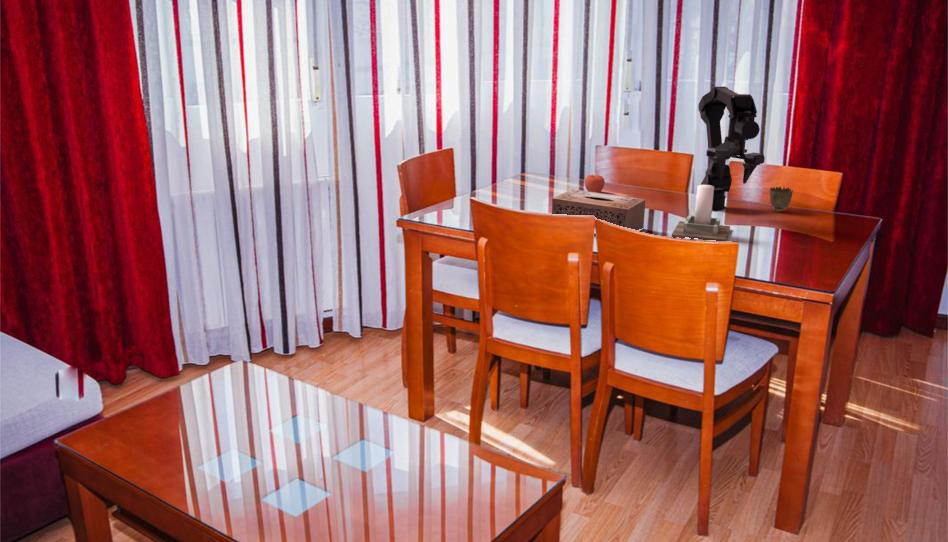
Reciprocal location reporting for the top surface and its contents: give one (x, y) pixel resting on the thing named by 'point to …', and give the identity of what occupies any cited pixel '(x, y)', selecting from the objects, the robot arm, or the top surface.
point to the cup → (780, 198)
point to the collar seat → (701, 230)
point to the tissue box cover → (602, 207)
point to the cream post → (704, 204)
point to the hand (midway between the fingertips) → (732, 181)
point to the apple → (594, 183)
